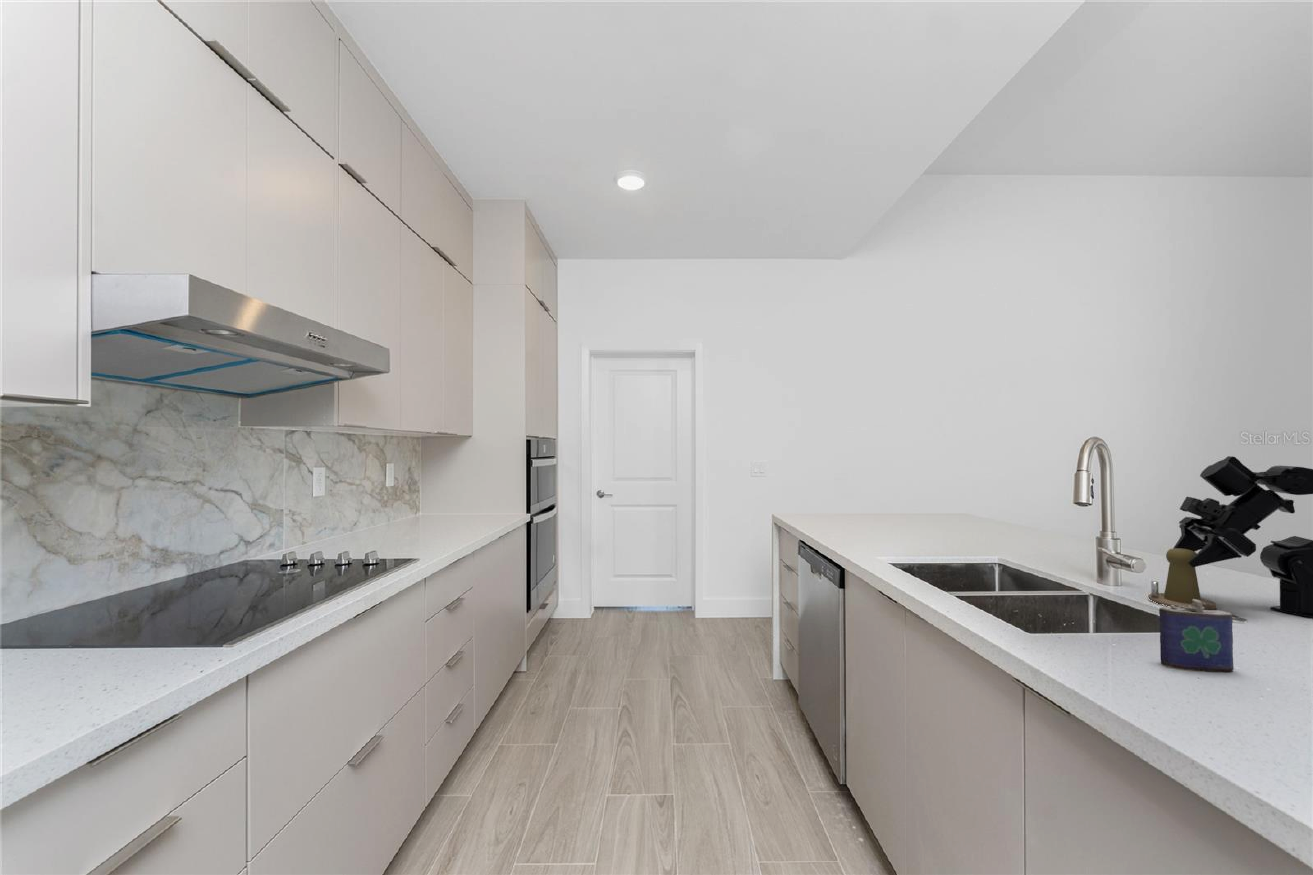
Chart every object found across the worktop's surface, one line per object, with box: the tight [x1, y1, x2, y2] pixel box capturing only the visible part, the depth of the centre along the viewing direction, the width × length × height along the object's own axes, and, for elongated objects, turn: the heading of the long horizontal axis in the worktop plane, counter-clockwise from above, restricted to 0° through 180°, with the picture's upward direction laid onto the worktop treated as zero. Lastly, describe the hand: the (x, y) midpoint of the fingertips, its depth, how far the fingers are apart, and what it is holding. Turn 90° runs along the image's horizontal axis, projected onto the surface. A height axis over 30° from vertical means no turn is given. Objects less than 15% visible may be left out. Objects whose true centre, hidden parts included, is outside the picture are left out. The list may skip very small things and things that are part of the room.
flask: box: [1158, 599, 1235, 673], centre depth 91 cm, size 9×3×11 cm, turn 74°
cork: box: [1164, 548, 1202, 604], centre depth 126 cm, size 6×6×11 cm
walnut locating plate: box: [1147, 580, 1218, 610], centre depth 126 cm, size 11×11×4 cm
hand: (1180, 561), depth 126 cm, fingers open, 9 cm apart
